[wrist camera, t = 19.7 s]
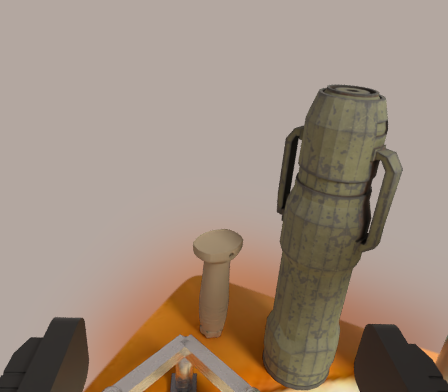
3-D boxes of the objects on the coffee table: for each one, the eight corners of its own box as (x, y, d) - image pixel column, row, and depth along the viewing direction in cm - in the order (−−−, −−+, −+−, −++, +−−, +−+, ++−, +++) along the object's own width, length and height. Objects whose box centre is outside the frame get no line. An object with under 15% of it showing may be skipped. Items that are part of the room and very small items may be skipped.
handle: (182, 331, 53) (186, 240, 47) (217, 311, 57) (224, 225, 51) (204, 353, 50) (211, 259, 44) (239, 330, 54) (250, 241, 48)
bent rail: (248, 377, 47) (256, 325, 44) (259, 463, 38) (269, 407, 35) (117, 376, 46) (114, 323, 42) (97, 464, 37) (90, 407, 34)
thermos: (325, 412, 44) (411, 108, 29) (240, 359, 50) (273, 83, 35) (351, 362, 50) (431, 94, 35) (272, 321, 56) (313, 76, 41)
